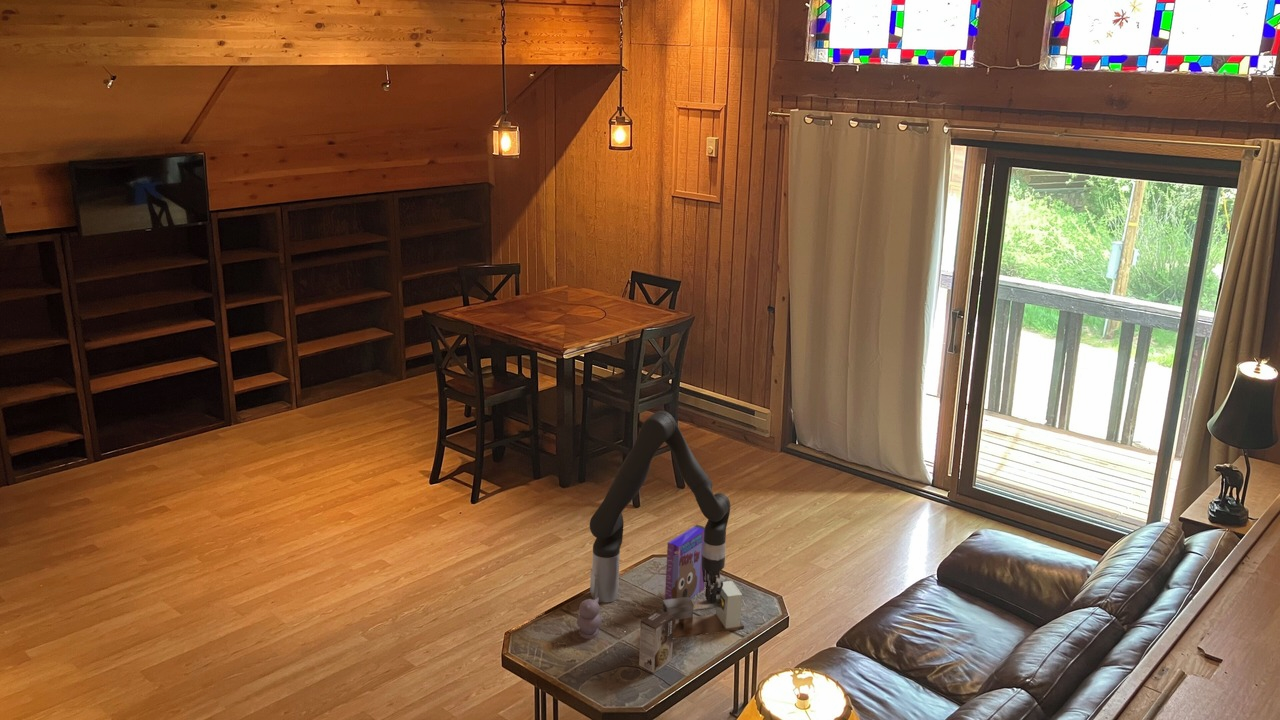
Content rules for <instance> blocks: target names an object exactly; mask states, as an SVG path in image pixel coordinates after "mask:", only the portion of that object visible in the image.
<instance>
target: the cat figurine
mask: <svg viewBox="0 0 1280 720" xmlns="http://www.w3.org/2000/svg"><path fill="white" fill-rule="evenodd" d="M598 600H599V598H597V599H595V600H593V598H588V599H584V600H583V601H581V603H580V604H579V608H578V612H579V615H578V616H577V618H576V625H577V627H578V628H579V631H578V632H579V633H578V634H579V636H580V637H581V638H583V639H585V640H593V639H596V638H597V637H599V634H600V629H599V627H600V626H601V625H602V621H603V619H602V616H601V614H600V609H601V608H600V607H601V606H600V604H599V602H598Z"/></svg>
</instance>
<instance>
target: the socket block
mask: <svg viewBox="0 0 1280 720" xmlns="http://www.w3.org/2000/svg"><path fill="white" fill-rule="evenodd" d="M722 582H723V587H722V590H721V593H720V595H717V599H718V598H724V600H725V606H724V607H721V608H715V614H716V615H717V616H718V618H719V619H720V621H721V622H722V624H723V625H724V627H725V628H733V627H740V621H741V617H742V615H741V613H742V602H743V601H742V600H743V594H742V592H741V591H740V590H739V588H738V587H737V585H736V584H735V583H734V582H733V580H729V581H728V580H727V581H722Z"/></svg>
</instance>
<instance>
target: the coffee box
mask: <svg viewBox="0 0 1280 720" xmlns="http://www.w3.org/2000/svg"><path fill="white" fill-rule="evenodd" d="M673 621H674V616H672V615H669V614H668V613H666V612H664V611H662V610H661V609H659V608H657V609H656V610H654V611H653V612H652V613H650V614H648V615H647V616H646V617H644V618H643V619H641V620H640V632H639V633H640V635H639V659H638V660H639V663H638V664H639V667H642V668H643V669H645V670H647V671H649V672H651V673H653V674H655V673H657V672H659V670H660V669H662V668H663V667H665V666H666V665H668V664H669V663H671V662H672V661H673V643H674V642H673V641H674V639H673Z"/></svg>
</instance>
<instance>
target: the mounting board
mask: <svg viewBox="0 0 1280 720" xmlns="http://www.w3.org/2000/svg"><path fill="white" fill-rule="evenodd" d="M693 602H694V601H692V599H690V598H689V597H683V598H675V599H667V600H665V599H662V608H661V609H662V611H664V612H666V613H668V614H669V615H672V616H674V621H673V638H674V639H680V637H681V638H687V637H694V635H695V636H701V635H700V634H702V635H706V633H709V634H715V632H716V633H722V632H723V633H724V632H730V631H737V630H743V629H745V625H744V624H743V622H742V621H741V620H740V627H733V628H725V627H724V625H723V624H722V622H721V621H720V619H719V618H718V616H717V615H716V613H715V614H713V613H712V614H706V615H699V616H694V611H693V607H694V604H693ZM686 636H687V637H686ZM678 637H679V638H678Z"/></svg>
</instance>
